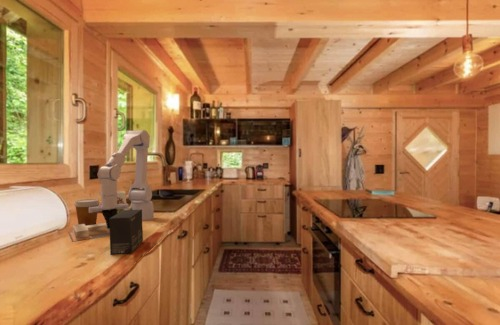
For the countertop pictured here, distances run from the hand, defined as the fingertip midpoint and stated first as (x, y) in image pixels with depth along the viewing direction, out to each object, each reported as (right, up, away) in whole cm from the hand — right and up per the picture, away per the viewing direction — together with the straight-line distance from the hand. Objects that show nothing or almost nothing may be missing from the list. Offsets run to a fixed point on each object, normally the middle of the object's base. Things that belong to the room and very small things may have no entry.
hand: (109, 227), depth 110 cm
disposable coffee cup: (-13, -2, +7) cm, 15 cm away
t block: (-5, -1, -4) cm, 7 cm away
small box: (+16, -3, -19) cm, 25 cm away
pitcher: (-10, -2, +26) cm, 28 cm away
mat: (-2, -2, -2) cm, 4 cm away
